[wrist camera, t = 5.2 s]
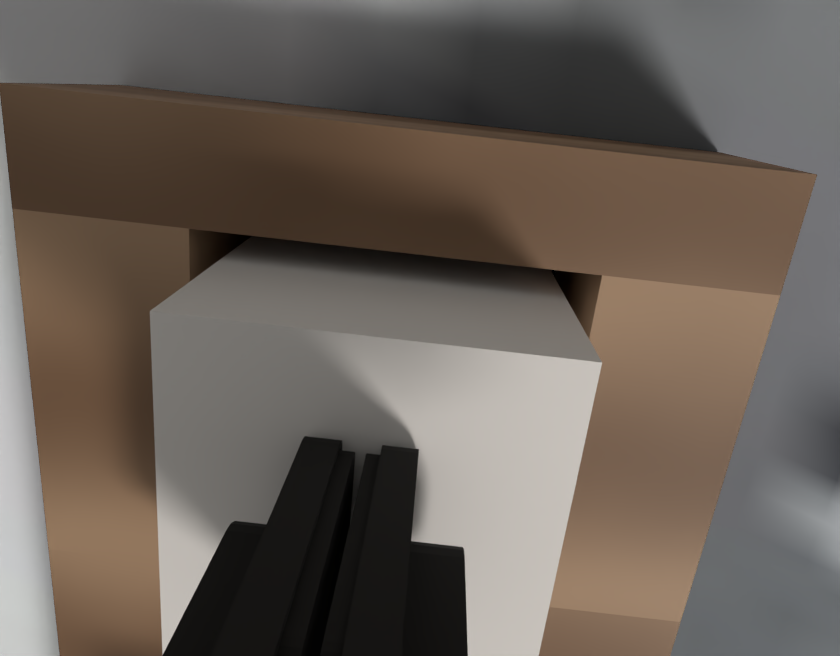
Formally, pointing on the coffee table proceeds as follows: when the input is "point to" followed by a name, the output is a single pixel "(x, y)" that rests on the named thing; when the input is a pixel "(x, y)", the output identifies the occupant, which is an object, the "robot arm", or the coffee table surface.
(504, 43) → the coffee table surface
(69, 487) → the brown slotted base
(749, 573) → the coffee table surface
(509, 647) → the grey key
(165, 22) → the coffee table surface
